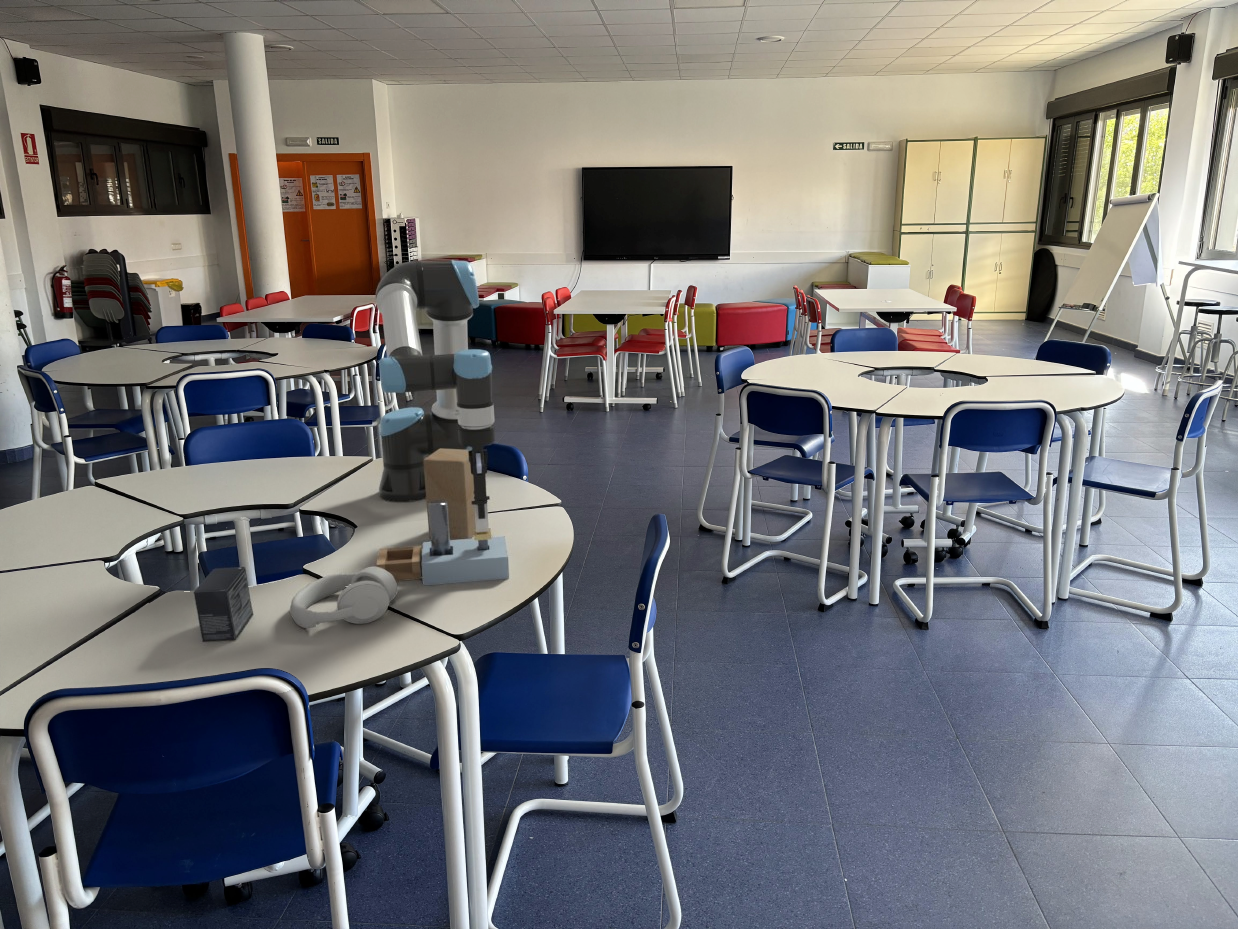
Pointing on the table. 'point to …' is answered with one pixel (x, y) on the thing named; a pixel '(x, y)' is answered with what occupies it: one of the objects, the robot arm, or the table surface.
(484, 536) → the small square tan block
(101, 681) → the table surface
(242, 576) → the small box
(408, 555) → the rack
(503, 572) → the socket block
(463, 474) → the wooden block
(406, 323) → the robot arm
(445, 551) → the cylinder
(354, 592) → the headphones
